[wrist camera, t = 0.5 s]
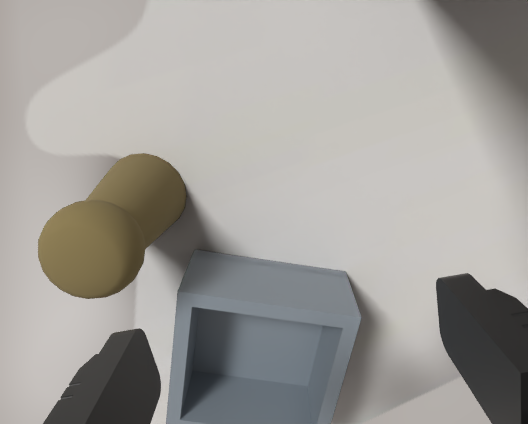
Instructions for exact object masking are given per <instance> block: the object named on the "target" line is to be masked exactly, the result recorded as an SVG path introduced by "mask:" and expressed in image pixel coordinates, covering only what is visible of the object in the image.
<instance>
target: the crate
mask: <svg viewBox="0 0 528 424" xmlns="http://www.w3.org/2000/svg"><path fill="white" fill-rule="evenodd" d="M361 318H362V317H361V314H360V312H359V309H358V306H357V303H356V300H355V297H354V294H353V291H352V288H351V285H350V283H349V280H348V277H347V274H346V272H345V271H338V270H331V269H324V268H317V267H311V266H304V265H297V264H290V263H283V262H276V261H270V260H263V259H256V258H249V257H242V256H235V255H228V254H222V253H215V252H208V251H201V250H194V252H193V255H192V257H191V260H190V262H189V265H188V267H187V270H186V272H185V275H184V277H183V280H182V282H181V285H180V287H179V289H178V293H177V305H176V316H175V327H174V339H173V350H172V362H171V373H170V384H169V396H168V407H167V418H166V424H331V421H332V418H333V415H334V411H335V408H336V404H337V401H338V397H339V394H340V390H341V387H342V384H343V380H344V377H345V373H346V370H347V366H348V363H349V359H350V356H351V352H352V349H353V346H354V342H355V339H356V335H357V332H358V328H359V325H360V321H361Z"/></svg>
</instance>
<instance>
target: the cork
mask: <svg viewBox="0 0 528 424" xmlns="http://www.w3.org/2000/svg"><path fill="white" fill-rule="evenodd" d="M186 197H187V196H186V190H185V184H184V182H183V180H182V178H181V176H180V175H179V173H178V172H177V171H176V170H175V169H174V168H173V166H172V165H171V164H170V163H168V162H166V161H165V160H163V159H161V158H159V157H157V156H153V155H149V154H144V153H143V154H132V155H129V156H127V157H124V158H122V159H120V160H119V161H118V162H117V163H116V164H115V165H114V166H113V167H112V168H111V169H110V170H109V171H108V173H107V174H106V175H105V176H104V178H103V179H102V180H101V181H100V183H99V184H98V185H97V186H96V188H95V189H94V190H93V192H92V193H91V194H90V195H89V197H88V198H87V199H86V200H85V201H79V202H75V203H73V204H71V205H68V206H66V207H64V208H62V209H61V210H59V211H58V212H56V214H54V215H53V216H52V217H51V218H50V220H48V221H47V223H46V225H45V226H44V228H43V230H42V233H41V235H40V238H39V240H38V257H39V261H40V263H41V267H42V270H43V272H44V273H45V274H46V276H47V277H48V278H49V280H50V281H51V282H52V283H53V284H54V285H56V286H57V287H58V288H59V289H60V290H62V291H64V292H66V293H68V294H70V295H73V296H75V297H81V298H86V299H90V298H103V297H108V296H110V295H113V294H115V293H118V292H120V291H121V290H122V289H124V288H125V287H126V286H127V285H128V284H130V283H131V282H132V281H133V280H134V279H135V277H136V276H137V274H138V272H139V270H140V268H141V266H142V264H143V262H144V254H145V249H146V248H147V247H148V246H149V245H150V244H151V243H152V242H153V241H155V240H156V239H157V238H158V237H159V236H160V235H161V234H162V233H163V232H164V231H165V230H167V229H168V228H169V227H170V226H171V225H172V224H173V223H174V222H175V221H176V220H177V219H179V217H180V216H181V214H182V212H183V210H184V208H185V203H186Z"/></svg>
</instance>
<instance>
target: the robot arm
mask: <svg viewBox="0 0 528 424" xmlns="http://www.w3.org/2000/svg"><path fill="white" fill-rule="evenodd" d="M436 291H437V303H438V315H439V327H440V334H441V338H442V341H443V344H444V347H445V349H446V351H447V353H448V355H449V357H450V358H451V360H452V361H453V363H454V365H455V366H456V368H457V369H458V371H459V372H460V374H461V376H462V377H463V379H464V380H465V382H466V383H467V385H468V386H469V388H470V389H471V391H472V393H473V394H474V396H475V398H476V399H477V401H478V402H479V404H480V405H481V407H482V409H483V410H484V412H485V413H486V415H487V416H488V418H489V420H490V421H491V423H492V424H528V308H527V307H525V306H524V305H523V304H522V303H521V302H520V301H519V300H518V299H517V298H515V297H513V296H510V295H508V294H506V293H504V292H502V291H499V290H497V289H491V290H485V289H484V288H483V287H482V286H481V285H480V284H479V283H478V282H477V281H476V280H475V279H474V278H473V277H472V276H471V275H470V274H468V273H466V274H460V275H454V276H448V277H443V278H438V279H437V282H436ZM69 385H70V386H69V387H67V388H66V390H65V391H64V393H63V394H62V396H61V400H59V401H58V402H57V404H56V405H55V406H54V408H53V409H52V411H51V413H50V414H49V415H48V417H47V419H46V420H45V421H44V423H43V424H150V423H151V420H152V417H153V414H154V411H155V408H156V406H157V403H158V400H159V397H160V391H161V381H160V375H159V371H158V369H157V366H156V363H155V360H154V357H153V354H152V352H151V349H150V346H149V343H148V340H147V337H146V335H145V333H144V331H143V330H142V329H134V330H128V331H123V332H116V333H113V334H112V335H111V336H110V337H109V339H108V340H107V342H106V343H105V345H104V347H103V348H102V350H101V351H100V353H99V354H96V355H94V356H93V357H92V358H91V359H90V360H89V361H88V362H87V363H85V364H84V365H83V366H82V367H81V368H80V369H79V370H78V372H77V373H76V375H75V376H74V378H73V379H72V381H71V382H70V384H69Z"/></svg>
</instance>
